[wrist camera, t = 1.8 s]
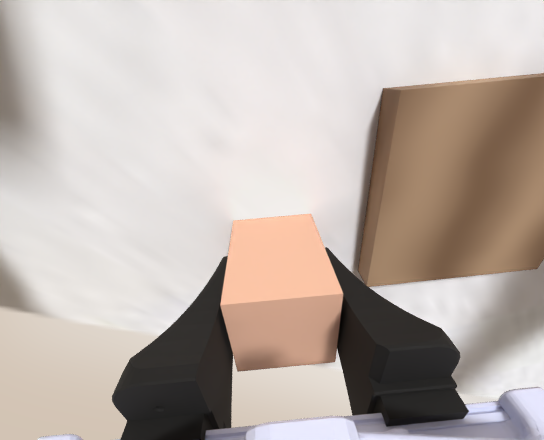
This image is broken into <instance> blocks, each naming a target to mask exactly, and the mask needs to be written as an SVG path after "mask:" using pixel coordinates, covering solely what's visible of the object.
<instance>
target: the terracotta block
mask: <svg viewBox="0 0 544 440" xmlns="http://www.w3.org/2000/svg"><path fill="white" fill-rule="evenodd" d="M342 300H343V292H342V289H341V287H340V284H339V282H338V279H337V277H336V274H335V272H334V269H333V267H332V265H331V262H330V260H329V257H328V255H327V252H326V250H325V247H324V245H323V242H322V240H321V237H320V235H319V232H318V230H317V228H316V225H315V223H314V220H313V218H312V215H311V214H304V215H292V216H281V217H269V218H258V219H247V220H235V221H233V227H232V233H231V240H230V246H229V253H228V259H227V265H226V272H225V278H224V285H223V291H222V297H221V304H220V306H221V310H222V313H223V317H224V321H225V325H226V329H227V333H228V336H229V340H230V344H231V348H232V352H233V355H234V359H235V363H236V367H237V371H248V370H258V369H267V368H278V367H288V366H299V365H309V364H320V363H330V362H335V359H336V350H337V342H338V334H339V325H340V317H341V309H342Z"/></svg>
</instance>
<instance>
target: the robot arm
mask: <svg viewBox="0 0 544 440" xmlns="http://www.w3.org/2000/svg"><path fill="white" fill-rule="evenodd" d="M325 250H326V252H327V255H328V257H329V260H330V262H331V265H332V267H333V269H334V272H335V274H336V277H337V279H338V282H339V284H340V287H341V289H342V292H343V300H342V309H341V317H340V325H339V334H338V342H337V349H338V353H339V357H340V361H341V365H342V369H343V373H344V378H345V382H346V387H347V391H348V396H349V400H350V406H351V410H352V415H353V416H344V417H343V416H326V417H316V418H306V419H296V420H287V421H276V422H268V423H264V424H259V425H255V426H245V427H235V428H231V400H232V398H231V397H232V365H233V364H232V363H233V352H232V348H231V344H230V340H229V336H228V333H227V329H226V325H225V321H224V317H223V313H222V310H221V306H220V304H221V297H222V291H223V285H224V278H225V272H226V265H227V259H228V256H227V257H223V258H222V260H221V262H220V264H219V266H218V267H217V269H216V271H215V272H214V274H213V276H212V277H211V279H210V280H209V282H208V283H207V285H206V286H205V287H204V289H203V290H202V292H201V293H200V294H199V296H198V297H197V298H196V299H195V301H194V302H193V303H192V304H191V305H190V307H189V308H188V309H187V310H186V311H185V312H184V313H183V314H182V315H181V316H180V317H179V318H178V320H177V321H176V322H175V323H173V324H172V325H171V326H170V327H169V328H168V329H167V330H166V331H165V332H164V333H162V334H161V335H160V336H159V337H158V338H157V339H155V340H154V341H153V342H152V343H151V344H150V345H148V346H147V347H145V348H144V349H143V350H142V351H140V352H139V353H137V354H136V355H135V356H133V357H132V358H131V359H130V360H129V362H128V364H127V366H126V367H125V369H124V371H123V373H122V375H121V378H120V380H119V382H118V384H117V387H116V389H115V391H114V394H113V395H112V401H113V403H114V405H115V407H116V408H117V409H118V410H119V411H120V413H121V414H122V415H123V416H124V417H125V418H126V420H127V424H126V426H125V429H124V432H123V434H122V437H121V439H117V440H544V390H543V389H542V388H540V387H532V388H522V389H513V390H509V391H506V392H504V393H503V394H502V395H501V396H500V398H499V400H498V401H493V402H483V403H473V404H464V402H463V401H462V399H461V398H460V396H459V395H458V393H457V391H456V390H455V388H456V387H457V385H456V383H455V381H454V380H453V378H452V377H451V374H452V373H453V371H454V369H455V368H456V366H457V364H458V362H459V359H460V352H459V351H458V349H457V348H456V347H455V345H454V344H453V342H452V341H451V340H450V338H449V337H448V336H447V335H446V334H445V332H444V331H443V330H442V329H441V328H439V327H437V326H435V325H433V324H431V323H428V322H426V321H424V320H422V319H420V318H418V317H416V316H414V315H412V314H410V313H408V312H406V311H404V310H403V309H401V308H399V307H397V306H396V305H394V304H392V303H391V302H389V301H388V300H386V299H384V298H383V297H381V296H380V295H378V294H377V293H376V292H374V291H373V290H372V289H370V288H369V287H368V286H366V285H365V284H364V283H363V282H361V281H360V280H359V279H358V278H357V277H356V276H355V275H353V274H352V273H351V272H350V271H349V270H348V269H347V268H346V267H345V266H344V265H343V264H342V263H341V262H340V261H339V260H338V259H337V258H336V257H335V256H334V254H333V253H332V252H331V251H330V250H329V249H328V248H325ZM37 440H83V439H82V438H81V437H79V436H77V435H74V434H63V435H53V436H45V437H44V436H43V437H40V438H38V439H37Z"/></svg>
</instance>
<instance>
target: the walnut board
mask: <svg viewBox="0 0 544 440" xmlns="http://www.w3.org/2000/svg"><path fill="white" fill-rule="evenodd" d="M543 259H544V73H542V74H531V75H520V76H510V77H499V78H489V79H478V80H467V81H457V82H446V83H435V84H425V85H414V86H404V87H393V88H383V93H382V100H381V107H380V115H379V122H378V129H377V136H376V144H375V151H374V158H373V166H372V173H371V180H370V187H369V195H368V202H367V209H366V216H365V224H364V231H363V238H362V246H361V253H360V260H359V267H358V272H359V273H360V275H361V277H362V279H363V281H364V283H365V285H366V286H368V287H370V286H380V285H389V284H399V283H408V282H418V281H427V280H436V279H446V278H455V277H465V276H474V275H484V274H493V273H503V272H512V271H522V270H531V269H537V268H538V267H539V265H540V264H541V262H542V261H543Z"/></svg>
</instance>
